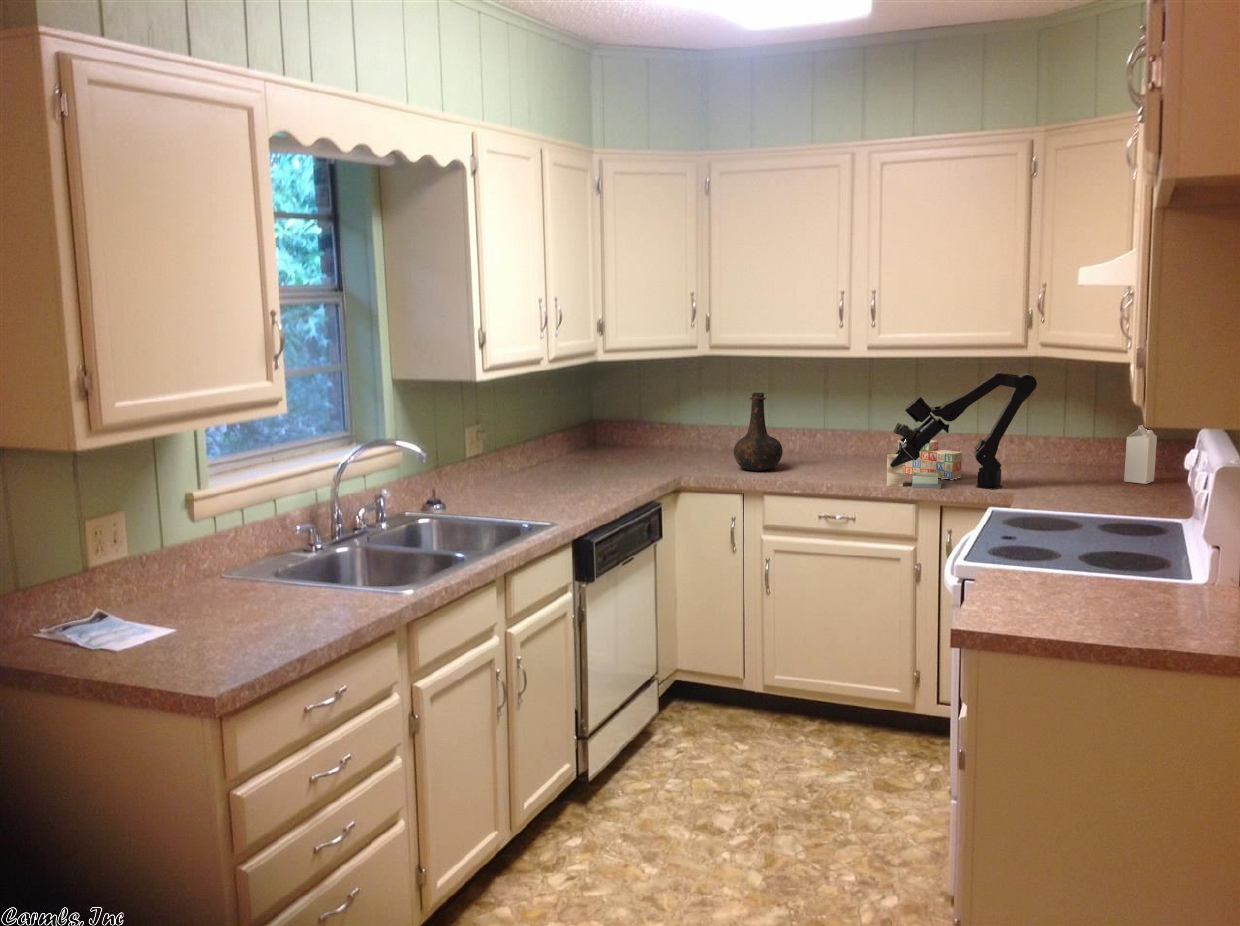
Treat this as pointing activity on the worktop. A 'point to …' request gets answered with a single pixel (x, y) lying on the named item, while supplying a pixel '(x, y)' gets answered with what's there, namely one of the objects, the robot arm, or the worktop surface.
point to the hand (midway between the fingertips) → (890, 464)
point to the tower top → (925, 478)
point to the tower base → (926, 485)
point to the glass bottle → (757, 441)
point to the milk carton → (1140, 456)
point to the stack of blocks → (935, 462)
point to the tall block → (894, 472)
